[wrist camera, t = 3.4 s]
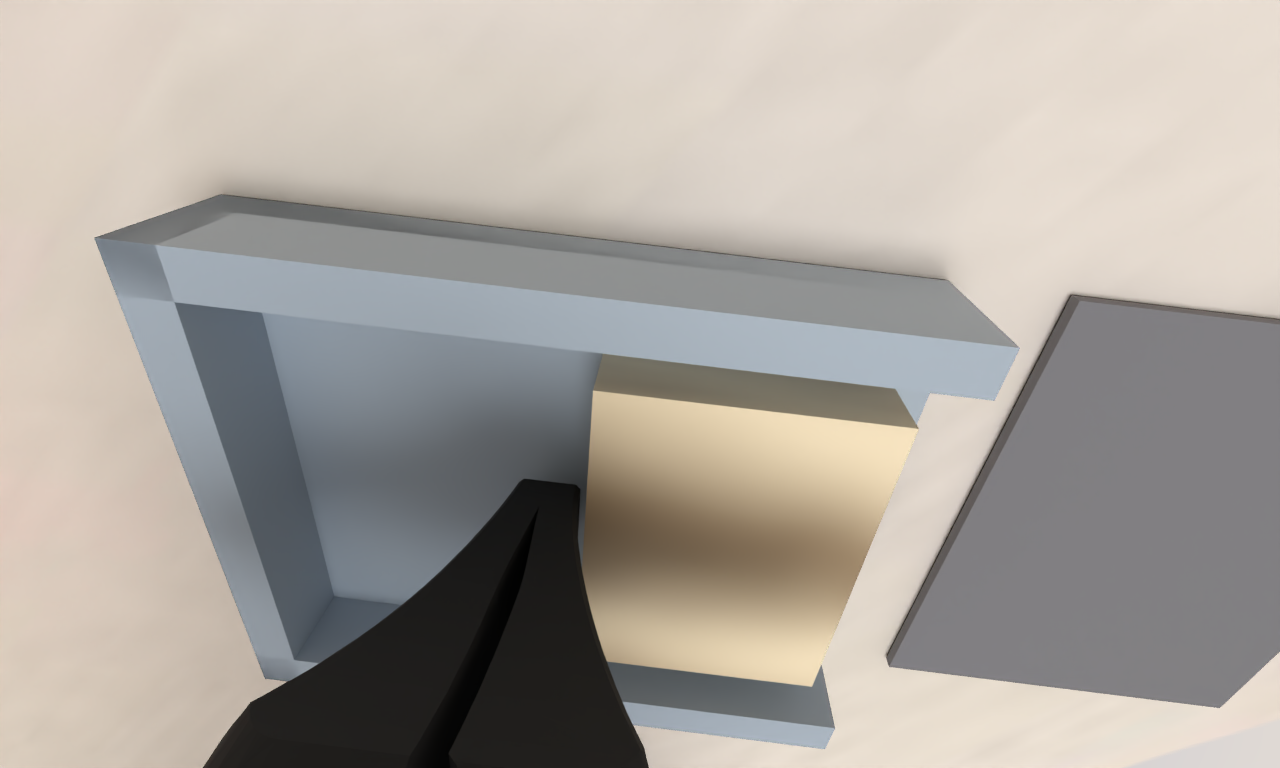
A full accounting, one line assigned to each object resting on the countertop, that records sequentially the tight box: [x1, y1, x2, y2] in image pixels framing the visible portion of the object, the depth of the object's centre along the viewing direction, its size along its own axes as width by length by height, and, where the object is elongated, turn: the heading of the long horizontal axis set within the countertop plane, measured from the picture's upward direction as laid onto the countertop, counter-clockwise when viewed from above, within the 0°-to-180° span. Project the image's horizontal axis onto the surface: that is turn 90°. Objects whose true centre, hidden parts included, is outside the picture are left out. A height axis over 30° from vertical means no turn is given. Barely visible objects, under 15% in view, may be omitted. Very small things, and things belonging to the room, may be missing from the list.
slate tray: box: [95, 195, 1020, 749], centre depth 14 cm, size 12×15×3 cm
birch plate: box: [582, 354, 919, 687], centre depth 14 cm, size 8×6×2 cm
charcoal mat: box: [886, 295, 1280, 708], centre depth 15 cm, size 12×10×1 cm
